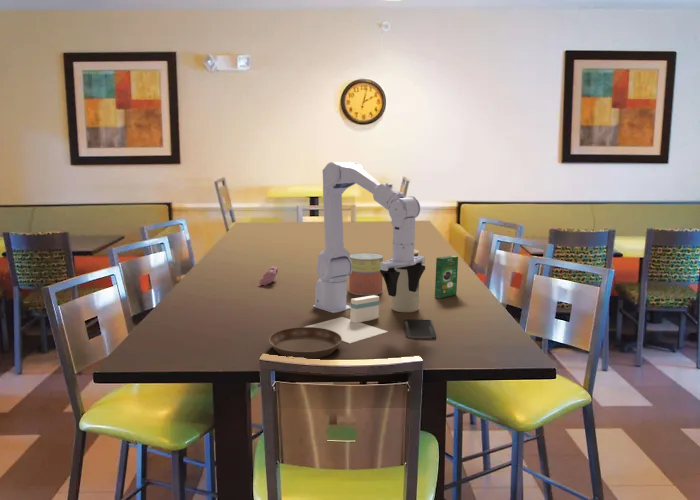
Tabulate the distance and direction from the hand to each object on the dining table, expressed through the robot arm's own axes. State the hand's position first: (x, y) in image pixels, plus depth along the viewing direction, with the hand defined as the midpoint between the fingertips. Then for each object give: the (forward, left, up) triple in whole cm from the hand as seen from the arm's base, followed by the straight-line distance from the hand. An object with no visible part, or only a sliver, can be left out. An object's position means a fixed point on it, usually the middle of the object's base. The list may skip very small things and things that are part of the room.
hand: (402, 293), depth 166 cm
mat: (-9, -12, -10) cm, 18 cm away
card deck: (-12, -2, -10) cm, 16 cm away
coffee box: (-14, +37, -10) cm, 41 cm away
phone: (+4, +3, -11) cm, 12 cm away
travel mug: (-12, +15, -10) cm, 22 cm away
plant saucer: (-5, -29, -10) cm, 31 cm away
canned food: (-36, +22, -10) cm, 44 cm away
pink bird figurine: (-67, +5, -10) cm, 68 cm away
